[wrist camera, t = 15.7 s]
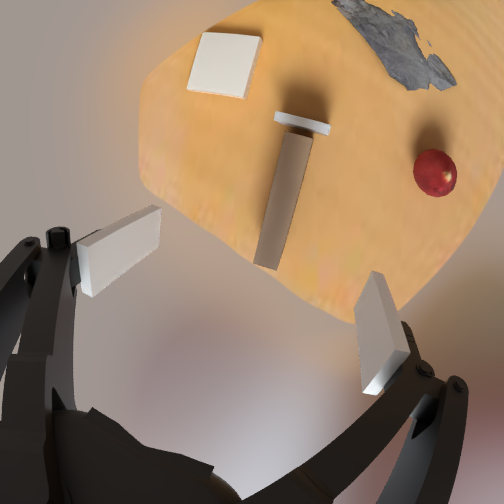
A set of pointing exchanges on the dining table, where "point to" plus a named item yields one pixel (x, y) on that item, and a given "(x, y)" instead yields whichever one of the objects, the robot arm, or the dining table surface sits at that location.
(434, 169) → the onion
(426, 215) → the dining table surface
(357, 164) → the dining table surface
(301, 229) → the dining table surface
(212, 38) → the tile
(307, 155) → the scraper
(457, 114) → the dining table surface
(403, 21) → the stone slab
